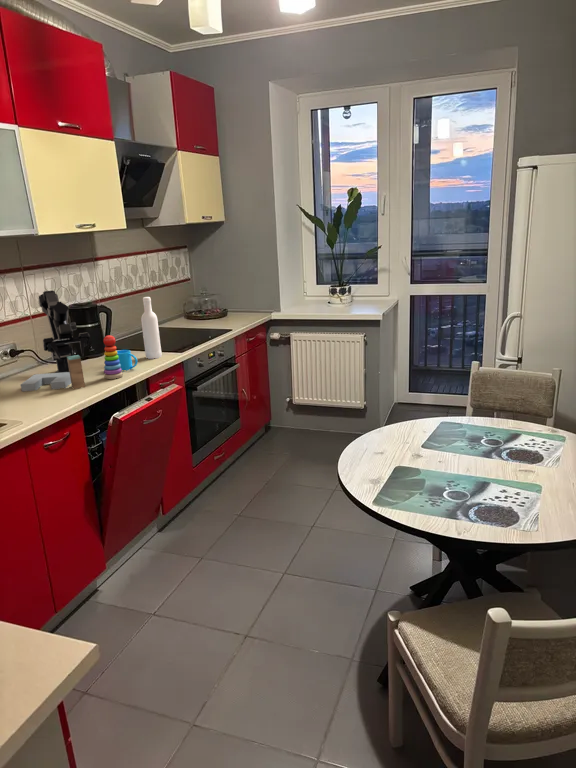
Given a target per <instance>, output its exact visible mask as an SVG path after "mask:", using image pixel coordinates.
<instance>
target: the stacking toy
mask: <svg viewBox="0 0 576 768" xmlns="http://www.w3.org/2000/svg"><path fill="white" fill-rule="evenodd" d="M102 341H103V344H104V345H105V347H104V353H103V355H104V358H103V359H104V366H103V368H104V370H103V373H104V374H103V377H104V379H106V380H116V378H117V379H120V378H122V377H123V376H124V373H123V371H122V369H121V368H120V367H121V364H120V361H119V359H118V358H119V356H118V355H117V351H118V350H117V346H116V342H117V341H116V338H115V336H114V335H105V337H103V340H102Z"/></svg>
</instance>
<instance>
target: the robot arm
mask: <svg viewBox="0 0 576 768" xmlns="http://www.w3.org/2000/svg"><path fill="white" fill-rule="evenodd" d="M38 306H39V307H40V308H41V311H42V312H43V313H44V314H45V315H46V317H47V319H48V324H49V327H50V332H51V336H52V337H46V338H43V339H42V346H43V350H44V351H45V352H48V353H51V359H52V360H53V361H56V368H57V370H55V372H54V373H63V372H69V367H68V361H67V357H69V356H74V352H73V351H74V350H73V349H74V348H73V347H72V345H71V344H74V343H79V349H80V354H81V357H84V353H85V352H84V351H85V347H87V346H88V345H90V342H91V335H90V333H89V332H80V333H78V336H77V337H73V336H74V333H73V332H74V331H76V330H77V329H78V328H77V324H76V322H75V321H73V322H70V323H69V321H68V319H69V313H70V308H69V306H68V305H66V304H65V303H63V302H62V301H60V300H59V297H58V294H57V293H56V291H55V290H53V289H52V290H44V291H42V294H40V295H39V296H38Z"/></svg>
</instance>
